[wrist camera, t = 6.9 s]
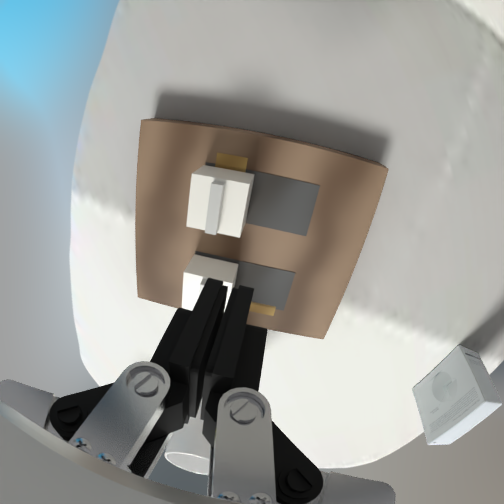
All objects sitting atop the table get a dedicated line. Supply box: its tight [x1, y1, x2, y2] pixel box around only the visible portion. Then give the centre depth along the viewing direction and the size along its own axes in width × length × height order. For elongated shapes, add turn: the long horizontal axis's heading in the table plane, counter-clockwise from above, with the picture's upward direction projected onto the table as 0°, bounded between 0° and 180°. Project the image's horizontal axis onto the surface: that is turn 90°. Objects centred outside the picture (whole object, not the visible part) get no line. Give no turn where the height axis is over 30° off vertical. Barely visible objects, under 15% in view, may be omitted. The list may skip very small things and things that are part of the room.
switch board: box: [135, 118, 388, 339], centre depth 26 cm, size 20×18×2 cm
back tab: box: [182, 254, 238, 312], centre depth 25 cm, size 4×4×4 cm
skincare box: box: [412, 345, 502, 445], centre depth 29 cm, size 10×6×10 cm, turn 156°
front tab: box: [186, 165, 255, 238], centre depth 21 cm, size 4×4×4 cm
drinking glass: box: [165, 400, 211, 475], centre depth 29 cm, size 7×7×15 cm
